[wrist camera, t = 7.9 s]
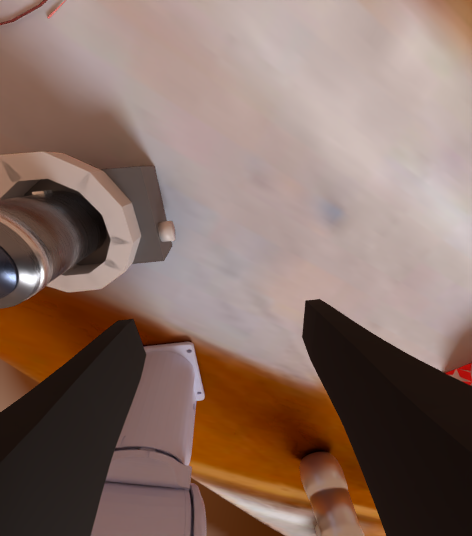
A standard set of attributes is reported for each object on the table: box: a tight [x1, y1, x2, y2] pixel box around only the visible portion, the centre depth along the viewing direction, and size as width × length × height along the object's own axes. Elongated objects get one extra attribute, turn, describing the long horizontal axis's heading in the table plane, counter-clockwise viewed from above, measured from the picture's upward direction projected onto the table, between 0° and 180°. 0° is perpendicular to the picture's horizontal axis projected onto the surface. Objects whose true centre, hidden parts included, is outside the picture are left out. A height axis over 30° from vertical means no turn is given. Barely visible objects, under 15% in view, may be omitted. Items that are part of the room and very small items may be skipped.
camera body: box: [0, 151, 175, 292], centre depth 14 cm, size 8×11×4 cm
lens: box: [0, 190, 106, 308], centre depth 10 cm, size 4×4×6 cm
